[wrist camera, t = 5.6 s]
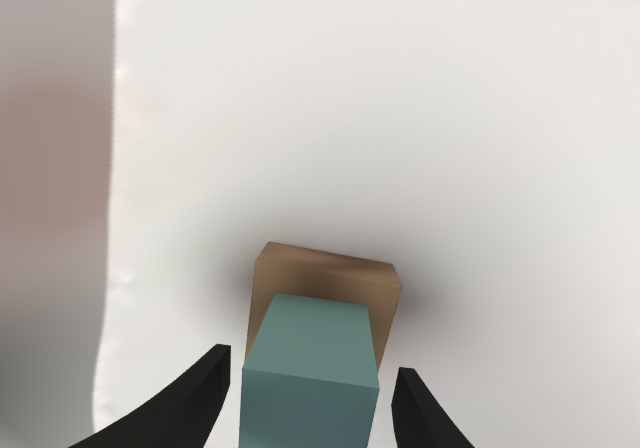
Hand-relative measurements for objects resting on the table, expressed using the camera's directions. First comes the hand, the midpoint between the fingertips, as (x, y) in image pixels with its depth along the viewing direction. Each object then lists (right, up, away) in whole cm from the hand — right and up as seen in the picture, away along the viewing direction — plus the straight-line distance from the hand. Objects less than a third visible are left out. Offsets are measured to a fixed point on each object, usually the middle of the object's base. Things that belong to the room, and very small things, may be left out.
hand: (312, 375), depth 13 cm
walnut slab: (0, +2, +5) cm, 6 cm away
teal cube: (0, +1, +2) cm, 3 cm away
